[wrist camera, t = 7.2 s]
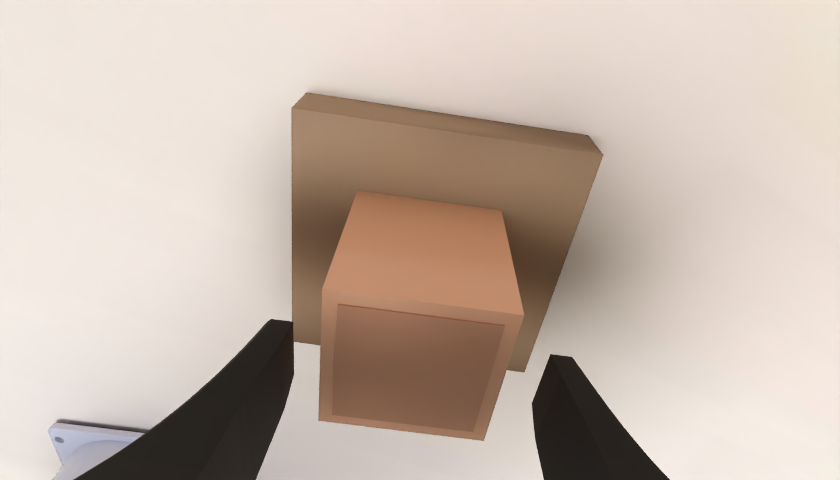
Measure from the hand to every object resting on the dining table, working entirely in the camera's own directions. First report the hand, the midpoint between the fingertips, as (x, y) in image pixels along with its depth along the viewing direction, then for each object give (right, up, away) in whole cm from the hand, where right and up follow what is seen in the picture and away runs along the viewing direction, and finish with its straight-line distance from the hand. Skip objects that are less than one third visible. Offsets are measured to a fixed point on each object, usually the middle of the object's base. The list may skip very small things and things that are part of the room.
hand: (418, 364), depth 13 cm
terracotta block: (0, +3, +4) cm, 5 cm away
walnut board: (0, +4, +6) cm, 8 cm away
